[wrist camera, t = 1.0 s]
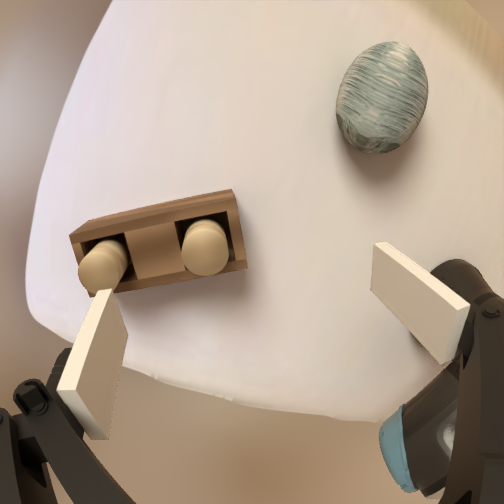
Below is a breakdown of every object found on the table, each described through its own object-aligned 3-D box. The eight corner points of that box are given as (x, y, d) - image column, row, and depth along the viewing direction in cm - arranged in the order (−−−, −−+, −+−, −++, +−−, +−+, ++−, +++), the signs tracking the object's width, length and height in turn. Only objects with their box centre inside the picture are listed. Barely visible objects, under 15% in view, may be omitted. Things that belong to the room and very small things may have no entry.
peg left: (134, 270, 32) (123, 291, 27) (101, 276, 31) (86, 298, 27) (124, 233, 30) (110, 250, 26) (90, 241, 30) (72, 258, 25)
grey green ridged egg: (391, 181, 33) (417, 145, 24) (317, 143, 35) (319, 97, 25) (424, 98, 33) (448, 53, 24) (359, 67, 35) (368, 16, 26)
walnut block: (241, 248, 37) (247, 268, 32) (105, 275, 36) (89, 297, 30) (231, 189, 35) (235, 198, 29) (88, 220, 34) (68, 235, 28)
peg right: (229, 251, 32) (232, 271, 28) (190, 259, 32) (187, 279, 27) (221, 213, 31) (223, 227, 26) (181, 221, 31) (176, 236, 26)
